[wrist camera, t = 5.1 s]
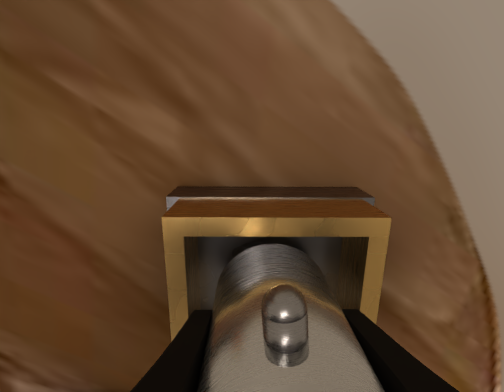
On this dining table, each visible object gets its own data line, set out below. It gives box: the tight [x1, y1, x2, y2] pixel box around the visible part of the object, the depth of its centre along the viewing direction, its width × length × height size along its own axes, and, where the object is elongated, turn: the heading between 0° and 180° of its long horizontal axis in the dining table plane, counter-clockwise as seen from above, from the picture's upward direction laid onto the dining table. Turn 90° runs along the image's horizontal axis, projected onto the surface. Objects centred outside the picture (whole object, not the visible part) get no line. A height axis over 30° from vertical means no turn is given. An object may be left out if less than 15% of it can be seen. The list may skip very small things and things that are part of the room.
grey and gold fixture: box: [162, 187, 392, 341], centre depth 13 cm, size 12×9×4 cm
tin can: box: [197, 244, 385, 392], centre depth 8 cm, size 6×4×6 cm
